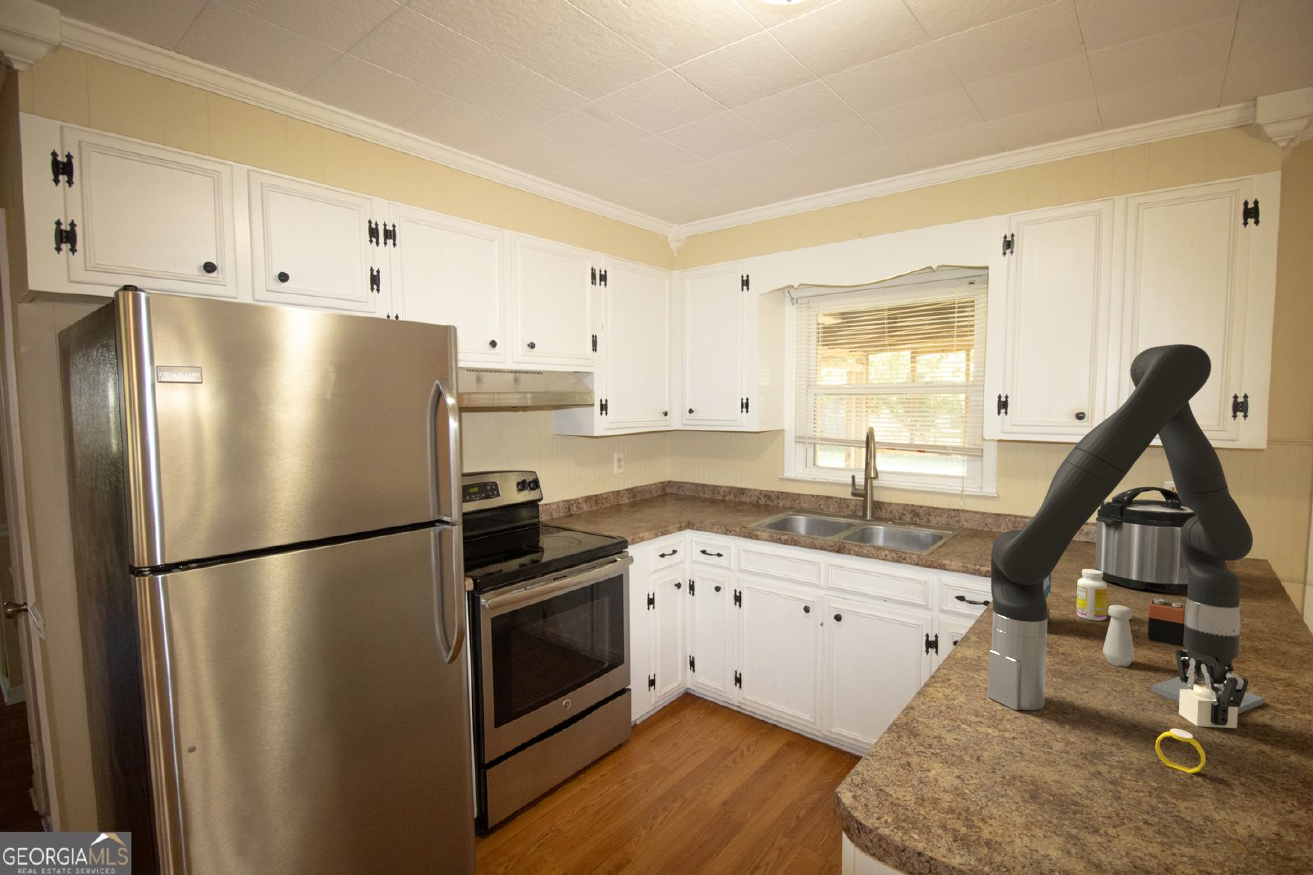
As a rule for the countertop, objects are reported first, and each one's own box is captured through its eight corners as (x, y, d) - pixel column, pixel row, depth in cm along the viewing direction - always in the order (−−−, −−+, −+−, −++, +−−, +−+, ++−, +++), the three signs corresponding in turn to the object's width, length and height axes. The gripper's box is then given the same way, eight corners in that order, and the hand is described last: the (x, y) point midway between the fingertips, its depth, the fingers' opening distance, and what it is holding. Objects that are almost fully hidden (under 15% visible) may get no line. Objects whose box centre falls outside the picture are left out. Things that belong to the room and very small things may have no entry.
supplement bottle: (1107, 617, 168) (1109, 571, 167) (1104, 623, 163) (1106, 575, 162) (1078, 611, 172) (1080, 566, 171) (1074, 617, 167) (1075, 571, 167)
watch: (1204, 774, 97) (1209, 739, 96) (1200, 781, 95) (1206, 745, 94) (1156, 755, 101) (1160, 721, 100) (1152, 762, 99) (1157, 727, 99)
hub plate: (1225, 719, 113) (1226, 694, 113) (1151, 691, 124) (1152, 668, 124) (1263, 703, 119) (1264, 680, 118) (1189, 678, 130) (1190, 657, 129)
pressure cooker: (1189, 578, 205) (1193, 484, 204) (1221, 602, 180) (1226, 495, 178) (1082, 567, 219) (1085, 479, 217) (1098, 588, 194) (1101, 489, 192)
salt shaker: (1103, 655, 142) (1105, 600, 141) (1134, 662, 138) (1136, 605, 137) (1101, 664, 137) (1103, 607, 136) (1134, 670, 134) (1136, 612, 133)
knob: (1236, 728, 110) (1238, 693, 109) (1197, 726, 110) (1198, 691, 110) (1217, 715, 114) (1218, 682, 114) (1178, 714, 115) (1180, 680, 114)
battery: (1148, 635, 154) (1150, 596, 154) (1184, 641, 150) (1185, 601, 149) (1147, 639, 151) (1149, 600, 151) (1183, 647, 147) (1185, 606, 146)
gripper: (1269, 642, 104) (1264, 739, 105) (1202, 613, 118) (1198, 699, 119) (1221, 640, 105) (1216, 737, 106) (1161, 612, 119) (1157, 698, 120)
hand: (1207, 716), depth 112 cm, fingers closed on knob, 4 cm apart
